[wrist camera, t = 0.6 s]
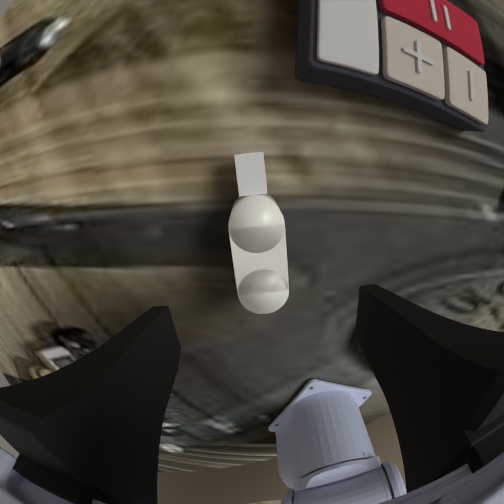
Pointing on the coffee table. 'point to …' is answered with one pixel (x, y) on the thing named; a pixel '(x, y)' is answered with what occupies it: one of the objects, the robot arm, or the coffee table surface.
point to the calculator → (397, 55)
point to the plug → (257, 239)
